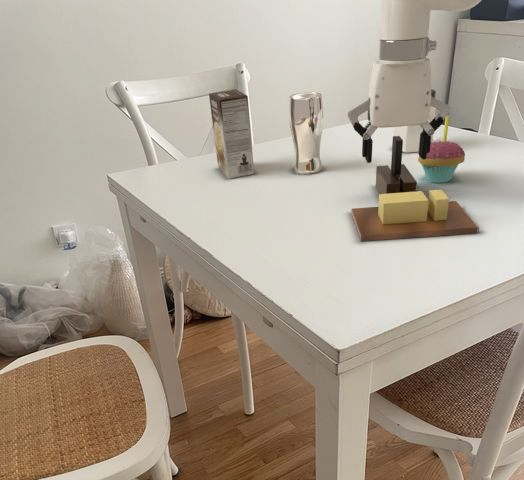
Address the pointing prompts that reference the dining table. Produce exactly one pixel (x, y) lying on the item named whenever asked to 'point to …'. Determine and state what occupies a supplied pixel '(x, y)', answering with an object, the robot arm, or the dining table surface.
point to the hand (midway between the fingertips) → (395, 159)
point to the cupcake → (442, 159)
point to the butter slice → (438, 205)
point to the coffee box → (232, 133)
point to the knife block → (394, 180)
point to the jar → (413, 132)
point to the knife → (396, 157)
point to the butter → (403, 207)
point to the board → (412, 225)
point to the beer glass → (306, 130)
